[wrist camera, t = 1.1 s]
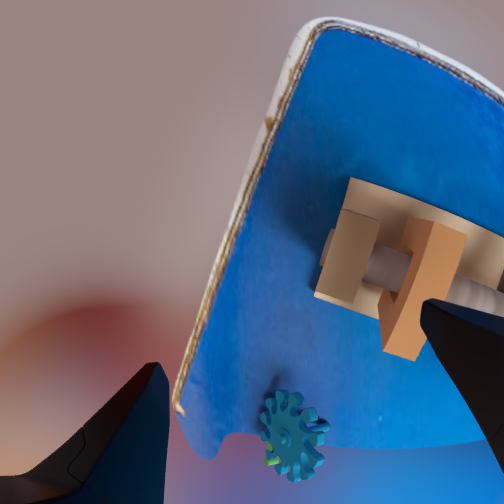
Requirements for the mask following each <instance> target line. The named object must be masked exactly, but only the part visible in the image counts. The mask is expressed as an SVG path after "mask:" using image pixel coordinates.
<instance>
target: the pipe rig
mask: <svg viewBox="0 0 504 504" xmlns="http://www.w3.org/2000/svg"><path fill="white" fill-rule="evenodd" d="M408 216H409V217H415V218H420V219H426V220H431V221H435V222H438V223H440V224H443V225H445V226H447V227H450V228H452V229H455V230H457V231H459V232H461V233H464V234H466V235H468V236H467V239H466V243H465V246H464V249H463V252H462V255H461V258H460V261H459V264H458V267H457V269H456V272H455V275H454V278H453V280H452V283H451V285H450V288H449V290H448V293H447V295H446V298H445V300H444V301H446V302H450V303H454V304H457V305H461V306H465V307H468V308H472V309H476V310H479V311H483V312H487V313H490V314H494V315H497V316H501V317H504V238H503V237H501V236H499V235H497V234H495V233H493V232H491V231H489V230H487V229H485V228H483V227H480V226H478V225H476V224H474V223H472V222H470V221H467V220H465V219H463V218H461V217H458V216H456V215H454V214H451V213H449V212H447V211H444V210H442V209H439V208H437V207H434V206H432V205H429V204H427V203H424V202H422V201H419V200H417V199H414V198H411V197H409V196H406V195H403V194H400V193H398V192H395V191H392V190H389V189H386V188H383V187H380V186H378V185H375V184H371V183H368V182H365V181H362V180H359V179H356V178H353V177H350V181H349V185H348V188H347V192H346V196H345V199H344V203H343V206H342V209H341V211H340V215H339V218H338V222H337V225H336V228H335V229H333V228H331V230H330V232H329V235H328V237H327V240H326V243H325V246H324V249H323V252H322V256H321V259H320V264H319V265H320V266H323V269H322V272H321V275H320V278H319V281H318V284H317V287H316V290H315V294H314V297H317V298H320V299H323V300H325V301H328V302H331V303H334V304H336V305H339V306H342V307H345V308H348V309H350V310H353V311H356V312H359V313H362V314H365V315H367V316H370V317H373V318H376V319H379V314H378V307H377V304H378V301H379V299H380V296H381V294H382V291H383V289H384V288H385V289H388V290H391V291H393V292H396V293H399V292H400V289H401V287H402V284H403V281H404V279H405V276H406V273H407V271H408V268H409V265H410V262H411V260H412V257H413V256H410V255H407V254H405V253H402V252H399V251H397V250H398V247H399V244H400V241H401V238H402V235H403V232H404V229H405V225H406V222H407V219H408Z"/></svg>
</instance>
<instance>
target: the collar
mask: <svg viewBox="0 0 504 504" xmlns="http://www.w3.org/2000/svg"><path fill="white" fill-rule="evenodd" d="M467 236H468V235H466V234H464V233H461V232H459V231H457V230H455V229H452V228H450V227H447V226H445V225H443V224H440V223H438V222H435V221H431V220H426V219H420V218H415V217H409V216H408V219H407V222H406V225H405V229H404V232H403V235H402V238H401V241H400V244H399V247H398V250H397V251H399V252H402V253H405V254H407V255H410V256H413V257H412V260H411V262H410V265H409V268H408V271H407V273H406V276H405V279H404V281H403V284H402V287H401V289H400V292H399V293H396V292H393V291H391V290H388V289H385V288H384V289H383V291H382V294H381V296H380V299H379V301H378V304H377V307H378V314H379V321H380V329H381V338H382V347H383V351H384V352H387V353H390V354H393V355H396V356H400V357H403V358H406V359H409V360H412V361H415V360H416V358H417V356H418V354H419V352H420V351H421V349H422V347H423V345H424V343H425V341H426V339H427V337H426V335H425V333H424V332H423V330H422V328H421V326H420V314H421V307H422V303H423V301H425V300H428V299H430V298H435V299H439V300H443V301H444V300H445V298H446V295H447V293H448V290H449V288H450V285H451V283H452V280H453V278H454V275H455V272H456V269H457V267H458V264H459V261H460V258H461V255H462V252H463V249H464V246H465V243H466V239H467Z"/></svg>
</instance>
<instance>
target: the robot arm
mask: <svg viewBox="0 0 504 504" xmlns="http://www.w3.org/2000/svg"><path fill="white" fill-rule="evenodd" d="M420 326H421V328H422V330H423V332H424V333H425V335H426V337H427V339H428V341H429V343H430V344H431V346H432V348H433V350H434V352H435V354H436V356H437V357H438V359H439V361H440V362H441V364H442V365H443V367H444V368H445V370H446V371H447V373H448V374H449V376H450V378H451V379H452V381H453V382H454V384H455V385H456V387H457V389H458V390H459V392H460V394H461V395H462V397H463V398H464V400H465V402H466V403H467V405H468V407H469V409H470V410H471V412H472V414H473V415H474V417H475V419H476V421H477V422H478V424H479V426H480V428H481V430H482V431H483V433H484V435H485V437H486V439H487V441H488V442H489V445H490V447H491V449H492V451H493V453H494V454H495V457H496V459H497V461H498V463H499V465H500V467H501V469H502V471H503V474H504V317H501V316H497V315H494V314H490V313H487V312H483V311H479V310H476V309H472V308H468V307H465V306H461V305H457V304H454V303H450V302H446V301H443V300H439V299H435V298H430V299H428V300H425V301H423V303H422V307H421V314H420ZM169 413H170V411H169V381H168V379H167V376H166V375H165V373H164V370H163V368H162V366H161V364H160V363H158V362H149V363H146V364H145V365H144V366H143V367H142V368H141V369H140V370H139V371H138V372H137V373H136V374H135V375H134V376H133V377H132V378H131V379H130V380H129V381H128V382H127V383H126V384H125V385H124V386H123V387H122V388H121V389H120V390H119V391H118V392H117V393H116V394H115V395H114V396H113V397H112V398H111V399H110V400H109V401H108V402H107V403H106V404H105V405H104V406H103V407H102V408H101V409H99V410H98V411H97V412H96V413H95V414H94V415H93V416H92V417H91V418H90V420H88V421H87V422H86V423H85V424H84V425H83V427H81V428H80V429H79V430H78V431H77V432H76V433H75V434H74V435H73V436H72V437H71V438H70V439H69V440H67V441H66V443H64V444H63V445H62V446H61V447H59V448H58V449H57V450H56V451H55V452H54V453H52V454H51V455H50V456H49V457H47V458H46V459H45V460H43V461H42V462H41V463H39V464H38V465H37V466H36V467H34V468H33V469H32V470H30V471H29V472H26V473H24V474H21V475H15V476H0V504H163V503H164V486H165V472H166V459H167V448H168V437H169V426H170V417H169V416H170V414H169Z"/></svg>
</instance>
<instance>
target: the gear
mask: <svg viewBox="0 0 504 504" xmlns="http://www.w3.org/2000/svg"><path fill="white" fill-rule="evenodd" d="M288 400H289V403H288V406H286V403H287V401H288ZM304 401H305V399H304V397H303V396H302V394H301V393H300V392H294V393H291V394H290V392H289V391H287V390H279V391H276V397H272V398H268V399H266V400H265V403H266V406H267V408H268V410H269V411H265V412H262V414H261V417H260V419H261V421H262V422H263V423H264V424H265V425H266V426H267V428H268V430H263V431H261V440H262V441H268V442H269V443H268V445H267V446H268V449H267V450H266V456H267V457H266V458H264V463H265V465H266V466H268V465H272V464H276V463H279V458H278V457H280V459H281V463H280V464H277V465H275V470H276V472H277V473H278V474H279V475H282V474H285V473H287V472H288V467H289V465H290V467H291V470H290V472H288V473H287V478H288V479H289V480H290V481H291V482H293V483H294V482H297V481H300V480H301V479H302V480H306V479H308V478H311V477H314V476H315V471H314V470H313V468H314V467H317V466H320V465H321V464H322V463H323V462H324V460H325V458H324V456H323V455H322V454H321V453H319V452H317V451H316V450H315V449H314V447H313V446H319V445H322V444H324V442H325V433H324V432H326V431H329V430H330V424H329V423H327V422H326V423H323V424H319V425H316V426H312V427H307V426H306V423H309V422H313V421H316V420H317V419H318V415H317V412H316V409H315V407H311V408H307V409H304V410H303V411H302V413H301V414H300V415H299V414H298V413H297V406H298V405H302V404H303V403H304ZM305 422H306V423H305ZM312 445H313V446H312ZM300 467H301V469H300Z"/></svg>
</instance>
